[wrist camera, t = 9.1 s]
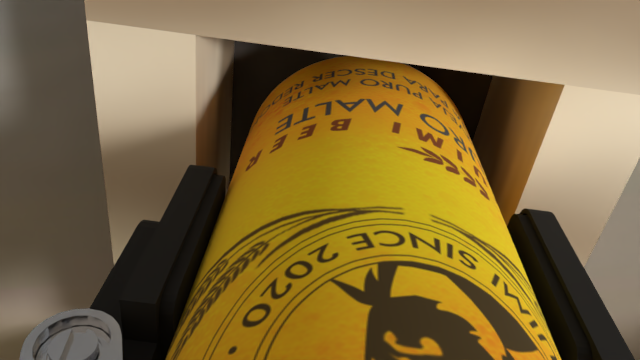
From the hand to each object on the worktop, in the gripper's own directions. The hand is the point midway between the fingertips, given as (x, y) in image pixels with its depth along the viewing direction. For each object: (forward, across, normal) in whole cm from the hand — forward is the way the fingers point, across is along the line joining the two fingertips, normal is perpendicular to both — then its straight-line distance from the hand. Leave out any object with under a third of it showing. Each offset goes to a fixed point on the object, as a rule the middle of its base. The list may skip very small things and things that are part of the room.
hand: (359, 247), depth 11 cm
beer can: (+5, 0, 0) cm, 5 cm away
